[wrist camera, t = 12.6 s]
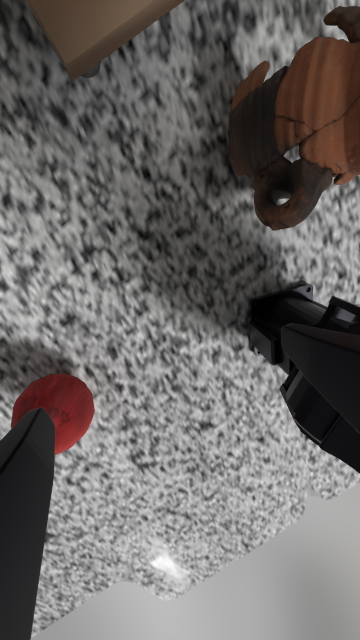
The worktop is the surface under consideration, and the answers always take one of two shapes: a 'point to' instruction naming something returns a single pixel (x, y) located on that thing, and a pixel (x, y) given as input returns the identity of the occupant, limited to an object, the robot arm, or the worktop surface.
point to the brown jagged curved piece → (300, 124)
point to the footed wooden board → (94, 27)
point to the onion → (59, 406)
